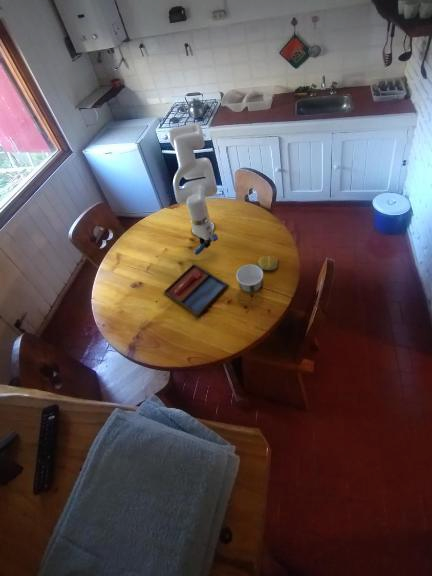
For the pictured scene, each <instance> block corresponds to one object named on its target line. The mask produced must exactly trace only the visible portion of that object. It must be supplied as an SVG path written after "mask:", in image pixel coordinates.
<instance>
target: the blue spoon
mask: <svg viewBox="0 0 432 576" xmlns="http://www.w3.org/2000/svg"><path fill="white" fill-rule="evenodd" d="M213 234H214V235H213V236H212V237H213V239H214V241H213V242H216V241H218V239H219V236H218V234H217V233H213ZM204 243H205V241H204V242H203V243H202V244H200V245H199V246H198V247H197V248H195V250H194V252H193V254H194V255H196V256H198V255H199V254H200V253H201V252H202V251H203V250H205V249H206V247H205V244H204ZM211 243H212V242H210V244H211Z"/></svg>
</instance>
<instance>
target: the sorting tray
mask: <svg viewBox="0 0 432 576" xmlns="http://www.w3.org/2000/svg"><path fill="white" fill-rule="evenodd" d="M195 271H198V272H200V275H201V277H200V278H199V279H197V280H193V281H192V282H191V283H190V284H189V285H188V286H187V287H186V288H185V289H184V290H183V291H182V292H181V293H180V294H179V295H175V293H174V292H175V290H176V289H177V288H178V287H179V286H180V285H181V284H182V283H184V282H185V281H186V280H187V279H188V278H189V277H190V276H191V274H192V273H193V272H195ZM228 287H229V285H228V283H227V282H225V281H223V280H221V279H220V278H218V277H216V276H215V275H213V274H211V273H210V272H208V271H206V270H204V269H203V268H201V267H200V266H197V265H196V264H194V263H193V264H192V265H191V266H190V267H188V268H187V269H186V270H185V271H184V272H183V273H182V274H181V275H180V276H179V277H177V279H176V280H174V282H172V283H171V284H170V285H169V286H168V287H167V288H166V289H164V291H163V292H164V294H165V295H166V296H167V297H169V298H170V299H172V300H173V301H174V302H176V303H178V304H179V305H180V306H181V307H183V308H185V309H186V310H187V311H189V312H190V313H192V314H193V315H194V316H196V317H197V318H200V317H201V315H203V313H204V312H205V311H206V310H207V309H208V308H209V307H210V306H211V305H212V304H213V303H214V302H215V301H216V300H217V299H218V298H219V296H221V295H222V293H223V292H224V291H225V290H226V289H227V288H228Z"/></svg>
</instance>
